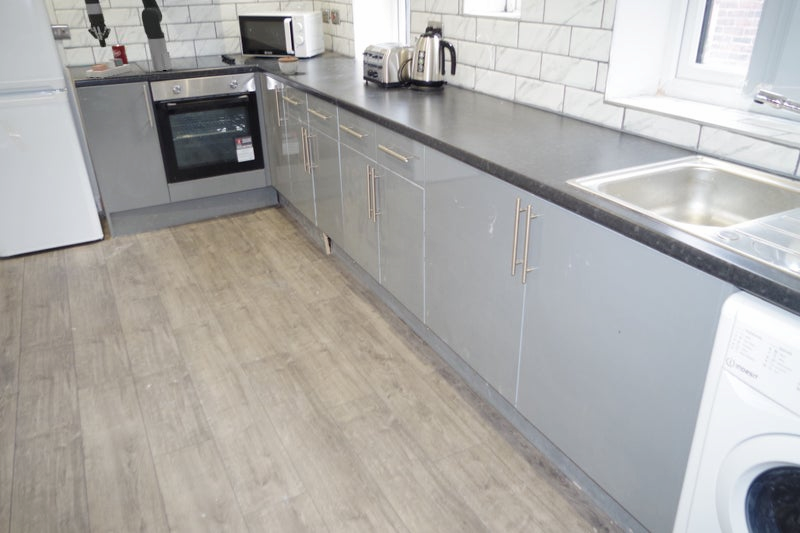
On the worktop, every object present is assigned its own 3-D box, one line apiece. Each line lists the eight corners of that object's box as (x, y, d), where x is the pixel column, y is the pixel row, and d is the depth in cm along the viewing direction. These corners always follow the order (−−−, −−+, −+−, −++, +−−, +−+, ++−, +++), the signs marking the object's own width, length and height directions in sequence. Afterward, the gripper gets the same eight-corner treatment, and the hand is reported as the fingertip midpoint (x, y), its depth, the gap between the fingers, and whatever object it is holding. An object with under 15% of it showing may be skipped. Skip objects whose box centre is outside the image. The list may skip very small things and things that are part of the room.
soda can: (120, 67, 356) (115, 46, 351) (113, 66, 360) (108, 45, 355) (131, 65, 361) (126, 44, 356) (124, 64, 365) (120, 44, 360)
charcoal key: (123, 66, 341) (121, 58, 339) (117, 67, 337) (116, 60, 335) (115, 65, 342) (114, 58, 340) (110, 67, 338) (108, 59, 336)
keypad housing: (131, 70, 344) (130, 64, 343) (103, 78, 323) (101, 71, 322) (116, 70, 346) (114, 64, 345) (87, 77, 326) (85, 71, 324)
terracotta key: (107, 72, 330) (106, 65, 328) (101, 74, 325) (99, 66, 324) (100, 72, 331) (98, 64, 329) (93, 74, 327) (91, 66, 325)
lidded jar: (275, 74, 323) (273, 56, 319) (287, 71, 331) (286, 53, 327) (291, 75, 318) (289, 57, 314) (303, 72, 327) (302, 54, 322)
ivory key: (115, 68, 335) (113, 60, 333) (109, 69, 331) (107, 62, 329) (107, 67, 336) (106, 60, 334) (101, 69, 332) (100, 61, 330)
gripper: (110, 11, 321) (118, 46, 329) (88, 12, 324) (97, 46, 332) (101, 13, 315) (109, 47, 323) (79, 13, 318) (88, 48, 325)
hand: (103, 47), depth 327 cm, fingers closed
